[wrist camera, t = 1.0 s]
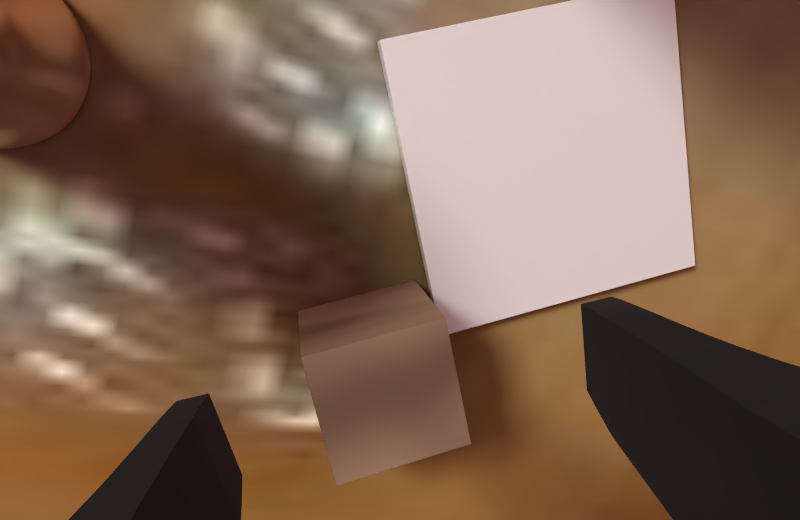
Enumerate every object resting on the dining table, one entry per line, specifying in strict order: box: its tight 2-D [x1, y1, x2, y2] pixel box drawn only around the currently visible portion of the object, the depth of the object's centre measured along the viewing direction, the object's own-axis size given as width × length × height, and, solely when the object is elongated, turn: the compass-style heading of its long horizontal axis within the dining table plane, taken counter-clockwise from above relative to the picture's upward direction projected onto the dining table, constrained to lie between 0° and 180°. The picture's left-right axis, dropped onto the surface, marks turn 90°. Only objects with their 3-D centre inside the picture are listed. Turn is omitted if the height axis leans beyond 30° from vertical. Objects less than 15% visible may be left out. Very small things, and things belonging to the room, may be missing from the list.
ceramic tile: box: [377, 0, 695, 334], centre depth 24 cm, size 12×12×1 cm
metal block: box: [298, 280, 471, 485], centre depth 22 cm, size 5×5×5 cm
